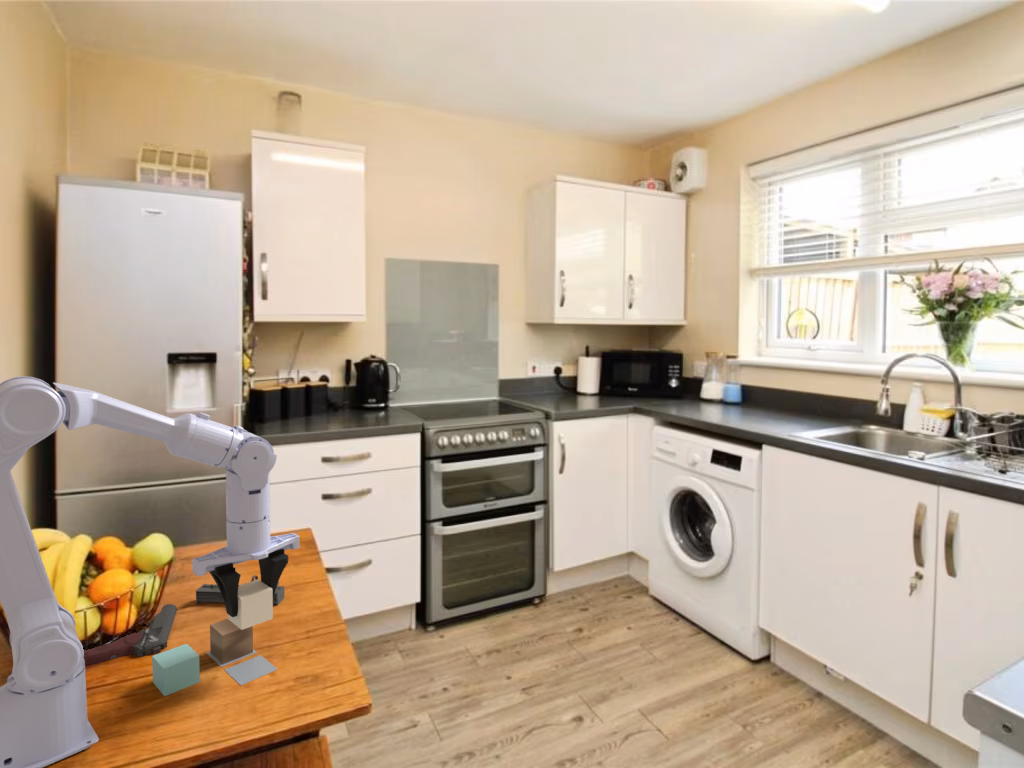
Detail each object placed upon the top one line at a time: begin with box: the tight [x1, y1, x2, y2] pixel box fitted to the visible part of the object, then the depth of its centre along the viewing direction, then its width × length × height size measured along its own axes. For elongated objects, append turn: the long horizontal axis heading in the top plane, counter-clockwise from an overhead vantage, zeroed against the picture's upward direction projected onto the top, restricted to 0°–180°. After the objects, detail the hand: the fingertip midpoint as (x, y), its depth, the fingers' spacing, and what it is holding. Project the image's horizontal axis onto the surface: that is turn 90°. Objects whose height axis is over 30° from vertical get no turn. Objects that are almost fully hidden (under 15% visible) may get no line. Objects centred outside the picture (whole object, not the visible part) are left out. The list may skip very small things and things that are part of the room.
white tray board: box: [206, 648, 278, 686], centre depth 87 cm, size 10×12×1 cm
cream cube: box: [227, 579, 274, 630], centre depth 84 cm, size 4×4×4 cm
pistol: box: [83, 603, 179, 667], centre depth 94 cm, size 2×15×12 cm
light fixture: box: [195, 574, 285, 606], centre depth 106 cm, size 3×15×6 cm, turn 89°
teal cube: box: [151, 643, 201, 697], centre depth 82 cm, size 4×4×4 cm
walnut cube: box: [209, 618, 254, 664], centre depth 89 cm, size 4×4×4 cm
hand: (249, 608), depth 84 cm, fingers closed on cream cube, 4 cm apart
